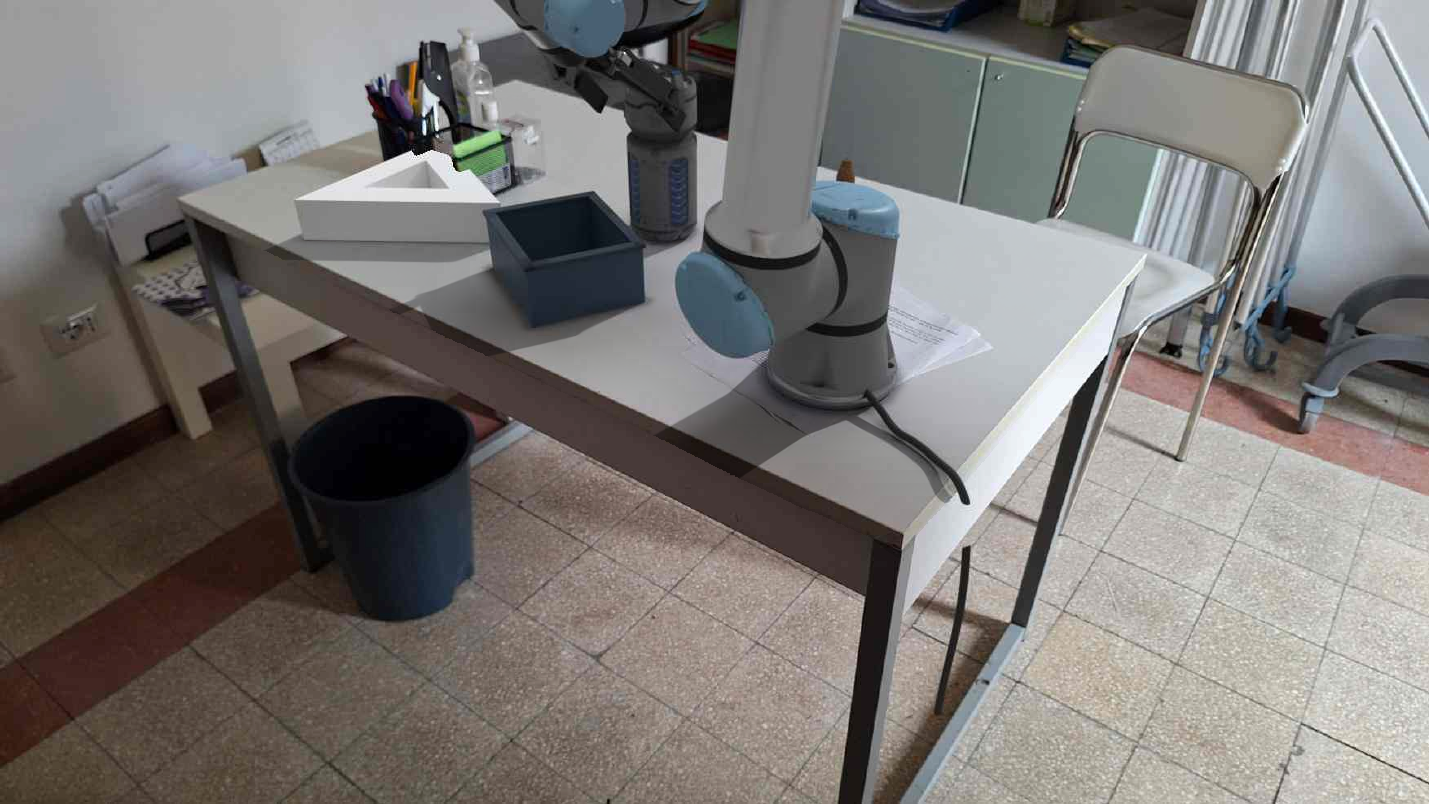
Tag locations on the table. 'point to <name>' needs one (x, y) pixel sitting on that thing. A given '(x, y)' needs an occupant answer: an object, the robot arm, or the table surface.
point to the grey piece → (662, 165)
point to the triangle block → (400, 204)
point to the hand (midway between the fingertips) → (641, 114)
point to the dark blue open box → (566, 257)
